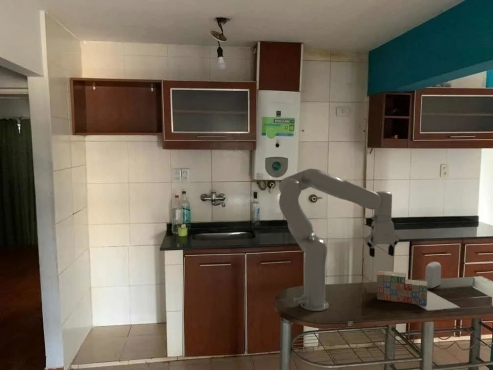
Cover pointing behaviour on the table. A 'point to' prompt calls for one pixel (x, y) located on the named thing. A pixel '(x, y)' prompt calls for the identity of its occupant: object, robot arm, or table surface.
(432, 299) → the mat
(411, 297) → the stack of blocks
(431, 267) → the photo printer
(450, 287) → the table surface
